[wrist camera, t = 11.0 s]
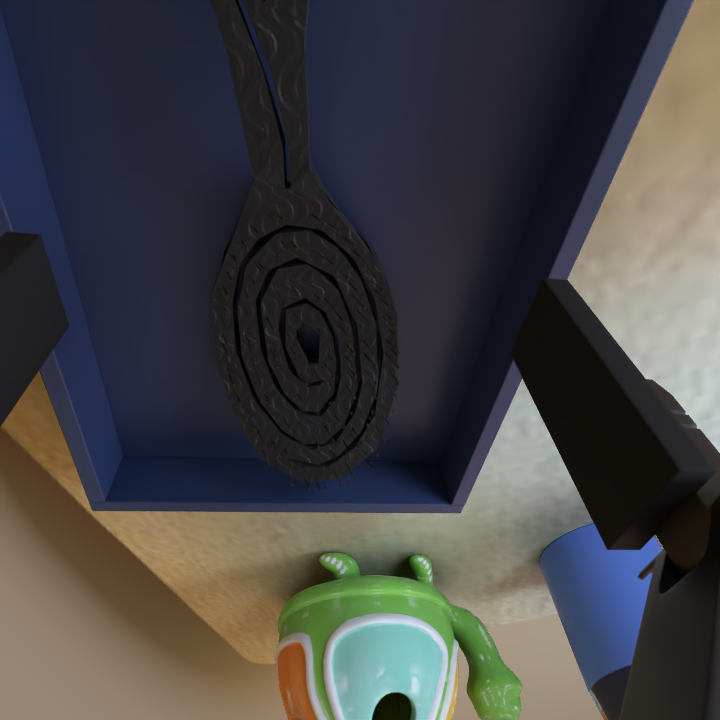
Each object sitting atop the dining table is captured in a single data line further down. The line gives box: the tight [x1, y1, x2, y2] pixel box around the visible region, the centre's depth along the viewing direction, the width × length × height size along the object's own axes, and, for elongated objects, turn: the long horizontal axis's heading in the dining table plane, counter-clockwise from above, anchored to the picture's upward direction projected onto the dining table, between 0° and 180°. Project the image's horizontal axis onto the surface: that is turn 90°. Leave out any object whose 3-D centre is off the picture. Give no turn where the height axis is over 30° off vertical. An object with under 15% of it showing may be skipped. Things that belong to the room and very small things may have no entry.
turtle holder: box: [275, 553, 522, 720], centre depth 35 cm, size 12×18×12 cm
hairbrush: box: [210, 0, 400, 491], centre depth 17 cm, size 8×4×25 cm
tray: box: [0, 0, 694, 513], centre depth 17 cm, size 31×20×4 cm, turn 173°
